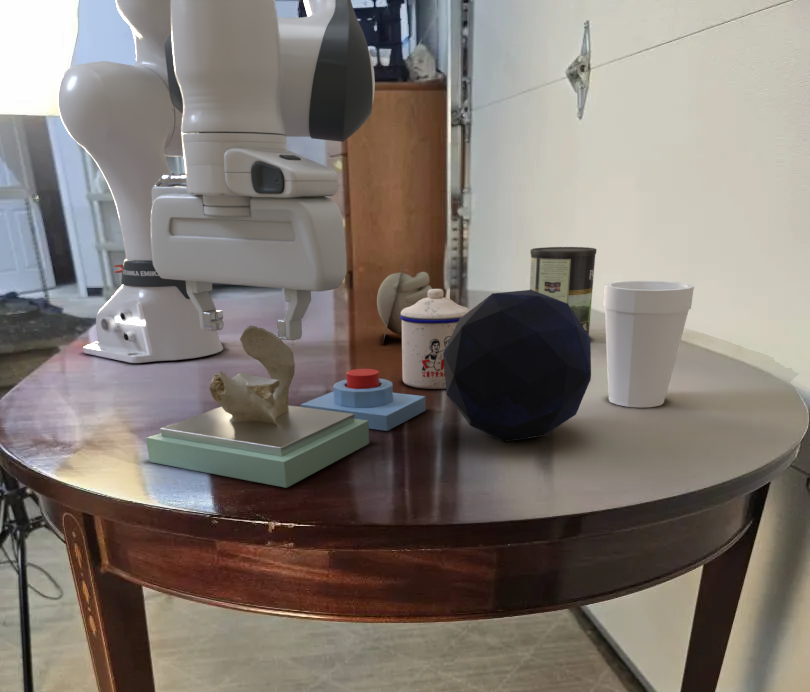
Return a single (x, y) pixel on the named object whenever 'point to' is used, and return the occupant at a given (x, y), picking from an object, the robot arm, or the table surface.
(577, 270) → the coffee can
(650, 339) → the foam cup
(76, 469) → the table surface
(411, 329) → the teacup with lid
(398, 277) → the decorative object
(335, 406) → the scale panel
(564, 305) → the decorative orb
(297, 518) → the table surface
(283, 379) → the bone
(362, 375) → the button
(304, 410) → the scale
